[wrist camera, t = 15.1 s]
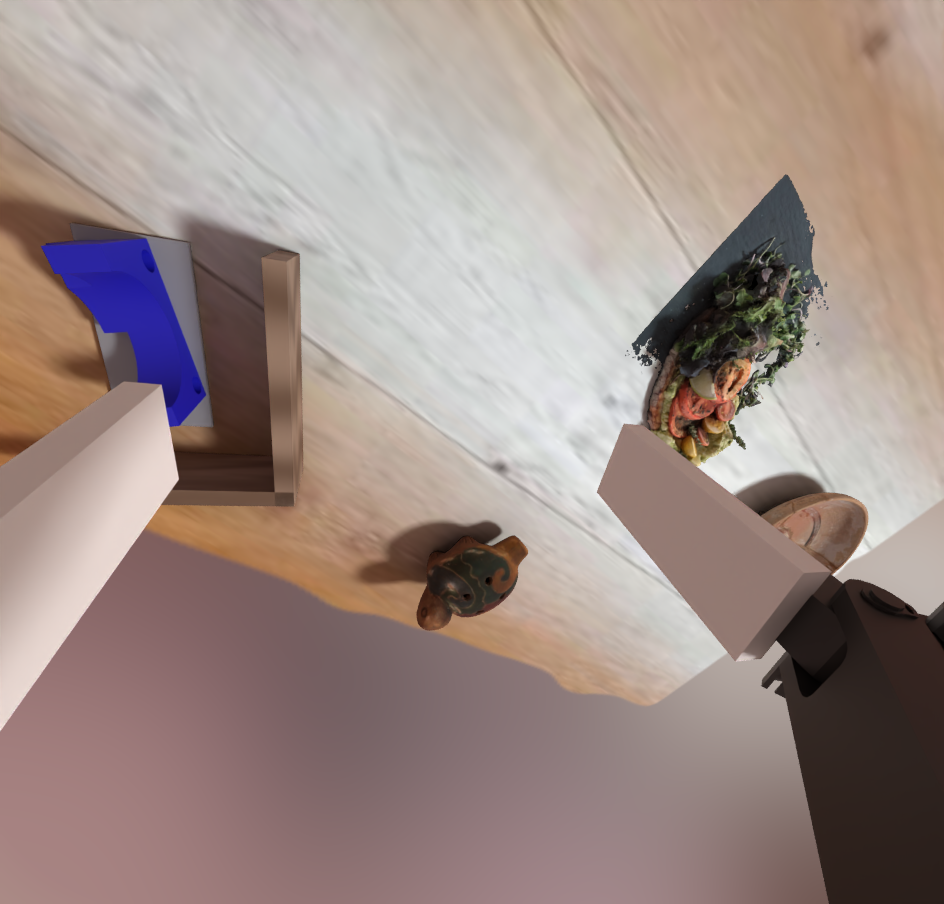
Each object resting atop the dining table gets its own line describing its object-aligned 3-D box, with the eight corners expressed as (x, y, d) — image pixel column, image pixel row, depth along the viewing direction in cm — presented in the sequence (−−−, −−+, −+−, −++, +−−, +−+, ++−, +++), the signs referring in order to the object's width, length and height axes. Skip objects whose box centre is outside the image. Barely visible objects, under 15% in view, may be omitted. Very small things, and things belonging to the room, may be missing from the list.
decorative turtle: (391, 567, 50) (397, 617, 43) (492, 498, 50) (514, 537, 43) (436, 608, 55) (447, 659, 48) (528, 545, 54) (553, 588, 47)
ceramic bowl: (676, 558, 62) (698, 584, 58) (810, 450, 56) (845, 469, 52) (737, 607, 73) (759, 631, 69) (854, 520, 67) (886, 541, 63)
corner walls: (-14, 200, 27) (-104, 197, 21) (299, 253, 32) (286, 261, 27) (71, 462, 36) (23, 503, 31) (303, 470, 41) (294, 506, 36)
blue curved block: (74, 240, 28) (10, 246, 23) (146, 238, 29) (100, 243, 24) (148, 400, 34) (110, 432, 29) (206, 395, 35) (179, 425, 30)
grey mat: (72, 222, 28) (69, 223, 28) (190, 242, 30) (187, 242, 30) (121, 419, 35) (119, 421, 35) (213, 425, 37) (212, 427, 37)
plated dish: (666, 518, 58) (701, 554, 52) (526, 422, 45) (550, 454, 39) (882, 311, 48) (958, 324, 42) (780, 117, 36) (866, 94, 30)
